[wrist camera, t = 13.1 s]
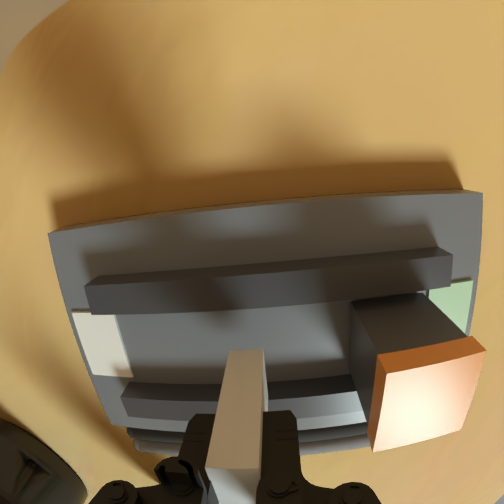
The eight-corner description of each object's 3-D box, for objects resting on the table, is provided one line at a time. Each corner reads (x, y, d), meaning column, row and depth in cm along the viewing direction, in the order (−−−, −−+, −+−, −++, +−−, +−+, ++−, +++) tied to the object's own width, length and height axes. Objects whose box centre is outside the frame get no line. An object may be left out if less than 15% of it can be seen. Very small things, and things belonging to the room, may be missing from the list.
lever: (346, 369, 16) (372, 452, 10) (348, 300, 15) (386, 373, 9) (415, 357, 16) (460, 429, 10) (424, 290, 15) (486, 350, 9)
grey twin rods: (139, 442, 22) (134, 454, 21) (128, 417, 21) (122, 429, 20) (427, 423, 20) (432, 435, 19) (435, 397, 20) (441, 408, 18)
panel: (120, 408, 21) (103, 439, 18) (66, 226, 18) (30, 239, 14) (440, 386, 19) (460, 416, 16) (463, 189, 16) (499, 196, 12)
